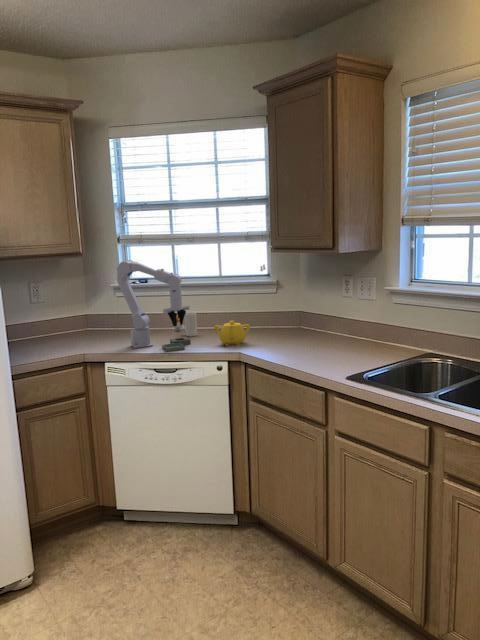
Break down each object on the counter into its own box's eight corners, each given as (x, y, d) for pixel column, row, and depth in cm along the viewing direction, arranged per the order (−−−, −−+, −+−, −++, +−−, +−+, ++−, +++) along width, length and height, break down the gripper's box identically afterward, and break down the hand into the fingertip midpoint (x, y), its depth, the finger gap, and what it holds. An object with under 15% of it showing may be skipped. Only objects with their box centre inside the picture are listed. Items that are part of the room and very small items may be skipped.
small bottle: (176, 332, 274) (176, 318, 273) (174, 331, 276) (173, 318, 275) (182, 331, 276) (181, 317, 274) (179, 330, 278) (178, 317, 277)
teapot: (212, 345, 274) (211, 322, 271) (233, 339, 283) (231, 317, 281) (231, 348, 264) (230, 324, 262) (252, 343, 274) (251, 320, 272)
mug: (199, 334, 301) (198, 312, 299) (193, 336, 295) (192, 315, 293) (184, 333, 306) (183, 312, 304) (178, 335, 300) (176, 314, 298)
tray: (166, 351, 263) (166, 348, 263) (162, 348, 272) (162, 344, 271) (184, 349, 267) (184, 346, 266) (179, 346, 275) (179, 342, 275)
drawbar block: (173, 346, 274) (173, 341, 274) (170, 343, 281) (169, 339, 280) (190, 344, 277) (190, 339, 277) (186, 341, 284) (186, 337, 283)
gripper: (167, 301, 265) (169, 328, 268) (192, 297, 274) (194, 324, 277) (160, 300, 271) (162, 326, 273) (184, 296, 280) (186, 322, 282)
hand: (177, 325), depth 275 cm, fingers closed on small bottle, 3 cm apart
